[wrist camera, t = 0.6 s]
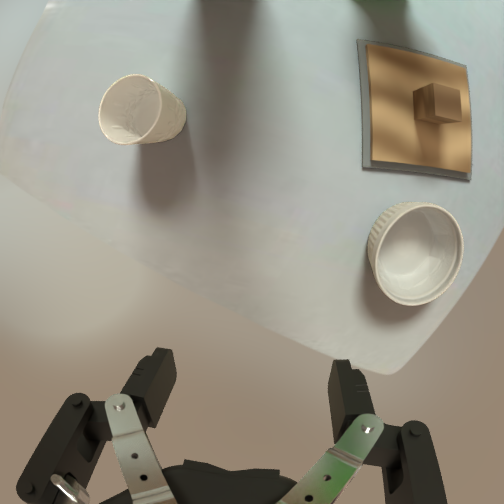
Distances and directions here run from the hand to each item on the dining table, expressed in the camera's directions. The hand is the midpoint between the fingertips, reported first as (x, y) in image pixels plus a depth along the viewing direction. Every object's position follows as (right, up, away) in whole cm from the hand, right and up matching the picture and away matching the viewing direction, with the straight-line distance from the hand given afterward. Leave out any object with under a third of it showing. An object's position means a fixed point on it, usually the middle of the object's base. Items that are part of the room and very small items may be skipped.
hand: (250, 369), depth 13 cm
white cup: (-12, +24, +22) cm, 34 cm away
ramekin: (+21, +7, +24) cm, 33 cm away
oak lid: (+23, +25, +17) cm, 38 cm away
